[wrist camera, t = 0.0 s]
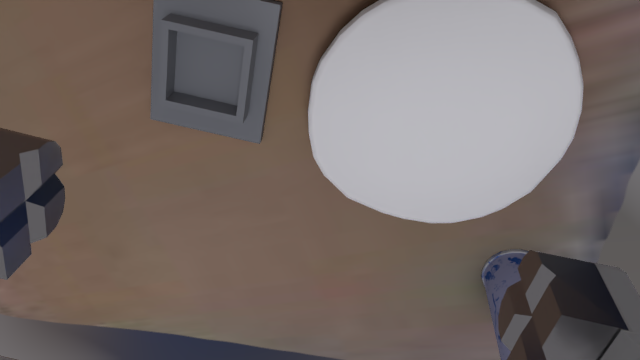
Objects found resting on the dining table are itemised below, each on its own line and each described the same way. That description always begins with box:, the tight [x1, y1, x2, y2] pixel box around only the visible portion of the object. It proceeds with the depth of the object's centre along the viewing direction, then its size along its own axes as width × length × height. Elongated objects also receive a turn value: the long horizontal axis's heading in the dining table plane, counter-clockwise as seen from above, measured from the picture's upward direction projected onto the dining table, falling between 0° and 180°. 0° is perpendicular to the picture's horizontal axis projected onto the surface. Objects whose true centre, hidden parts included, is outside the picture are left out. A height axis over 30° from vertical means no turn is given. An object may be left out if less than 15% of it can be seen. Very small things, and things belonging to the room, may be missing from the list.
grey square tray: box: [151, 0, 283, 144], centre depth 57 cm, size 16×13×4 cm
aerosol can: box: [481, 249, 529, 360], centre depth 60 cm, size 8×8×20 cm
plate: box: [308, 0, 583, 223], centre depth 56 cm, size 28×6×27 cm
